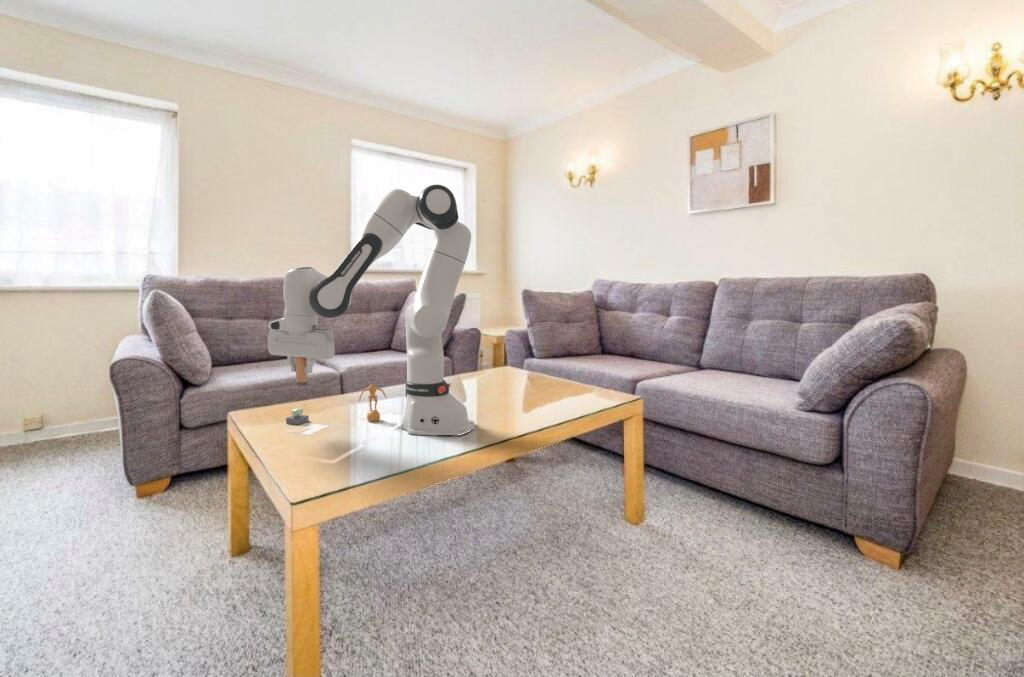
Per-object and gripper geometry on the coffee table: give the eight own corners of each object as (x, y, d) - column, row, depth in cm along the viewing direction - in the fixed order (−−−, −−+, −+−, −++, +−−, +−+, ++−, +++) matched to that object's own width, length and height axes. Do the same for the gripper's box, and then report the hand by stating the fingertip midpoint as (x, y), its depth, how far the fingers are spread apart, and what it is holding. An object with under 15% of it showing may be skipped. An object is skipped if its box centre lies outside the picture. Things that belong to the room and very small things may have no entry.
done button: (305, 417, 143) (305, 408, 143) (298, 419, 140) (297, 411, 139) (296, 416, 144) (296, 407, 143) (289, 418, 141) (289, 410, 140)
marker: (309, 384, 135) (309, 353, 134) (302, 386, 132) (302, 354, 131) (301, 383, 136) (300, 352, 135) (293, 385, 133) (293, 354, 132)
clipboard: (335, 426, 141) (335, 418, 141) (308, 438, 129) (308, 430, 129) (296, 421, 145) (296, 414, 144) (267, 433, 133) (266, 425, 133)
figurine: (360, 425, 142) (359, 387, 141) (358, 420, 148) (358, 383, 146) (388, 423, 145) (387, 385, 144) (385, 418, 151) (385, 381, 149)
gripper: (339, 325, 132) (339, 373, 134) (279, 321, 138) (280, 367, 139) (325, 327, 126) (325, 377, 128) (263, 323, 132) (264, 371, 133)
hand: (301, 372), depth 133 cm, fingers closed on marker, 3 cm apart
